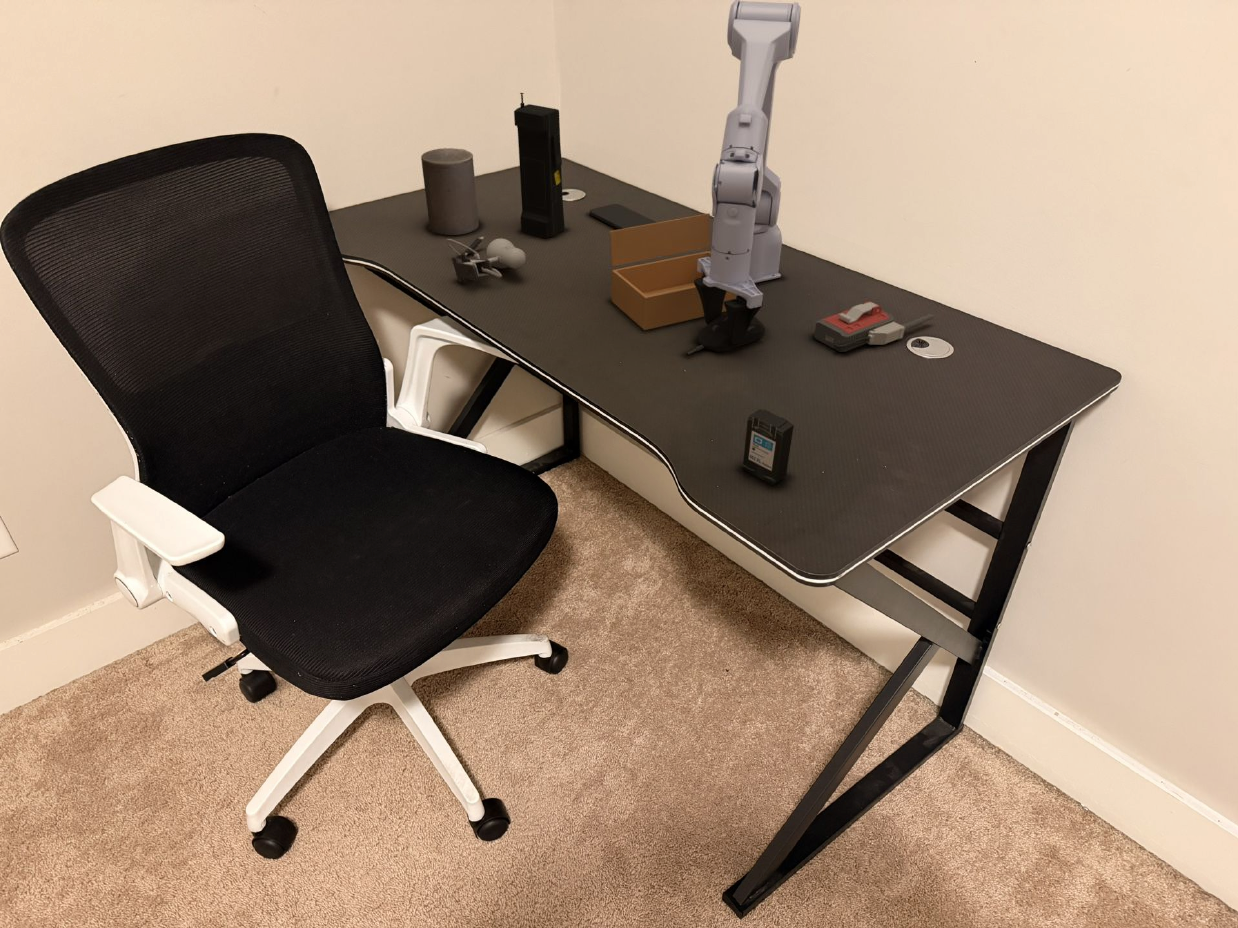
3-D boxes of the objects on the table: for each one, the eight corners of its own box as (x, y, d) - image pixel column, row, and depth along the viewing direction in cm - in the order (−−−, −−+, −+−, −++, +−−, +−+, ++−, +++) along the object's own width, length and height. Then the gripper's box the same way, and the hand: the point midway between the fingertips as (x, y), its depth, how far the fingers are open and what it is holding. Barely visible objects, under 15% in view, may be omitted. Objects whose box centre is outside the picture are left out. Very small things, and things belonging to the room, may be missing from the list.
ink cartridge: (741, 469, 106) (747, 414, 101) (752, 461, 107) (759, 406, 102) (774, 486, 103) (782, 430, 98) (785, 478, 104) (794, 423, 99)
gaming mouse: (673, 347, 130) (674, 323, 128) (744, 320, 138) (746, 297, 135) (701, 363, 126) (703, 339, 124) (773, 335, 134) (776, 311, 131)
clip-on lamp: (439, 274, 158) (473, 291, 143) (429, 240, 155) (462, 253, 140) (498, 256, 162) (536, 270, 147) (489, 222, 159) (527, 233, 145)
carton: (644, 330, 135) (645, 297, 132) (611, 301, 143) (611, 270, 140) (744, 307, 142) (747, 275, 138) (707, 280, 150) (709, 250, 147)
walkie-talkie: (847, 362, 127) (935, 327, 136) (852, 335, 124) (941, 301, 134) (804, 339, 133) (891, 306, 142) (808, 313, 130) (897, 281, 140)
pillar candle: (419, 231, 167) (409, 152, 158) (446, 215, 174) (437, 138, 166) (463, 239, 164) (455, 158, 155) (488, 222, 172) (482, 144, 163)
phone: (617, 203, 178) (661, 224, 168) (617, 207, 179) (661, 228, 169) (587, 210, 175) (630, 232, 165) (587, 214, 175) (630, 236, 165)
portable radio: (571, 230, 168) (567, 94, 153) (552, 240, 164) (547, 101, 149) (538, 222, 171) (532, 88, 157) (519, 232, 167) (511, 95, 153)
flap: (610, 231, 137) (609, 231, 137) (612, 266, 139) (611, 266, 140) (709, 213, 143) (708, 213, 144) (709, 247, 146) (709, 247, 146)
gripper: (681, 234, 127) (677, 318, 135) (736, 270, 117) (727, 359, 125) (722, 226, 130) (715, 309, 138) (779, 261, 119) (768, 348, 127)
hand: (724, 332), depth 131 cm, fingers closed on gaming mouse, 6 cm apart
